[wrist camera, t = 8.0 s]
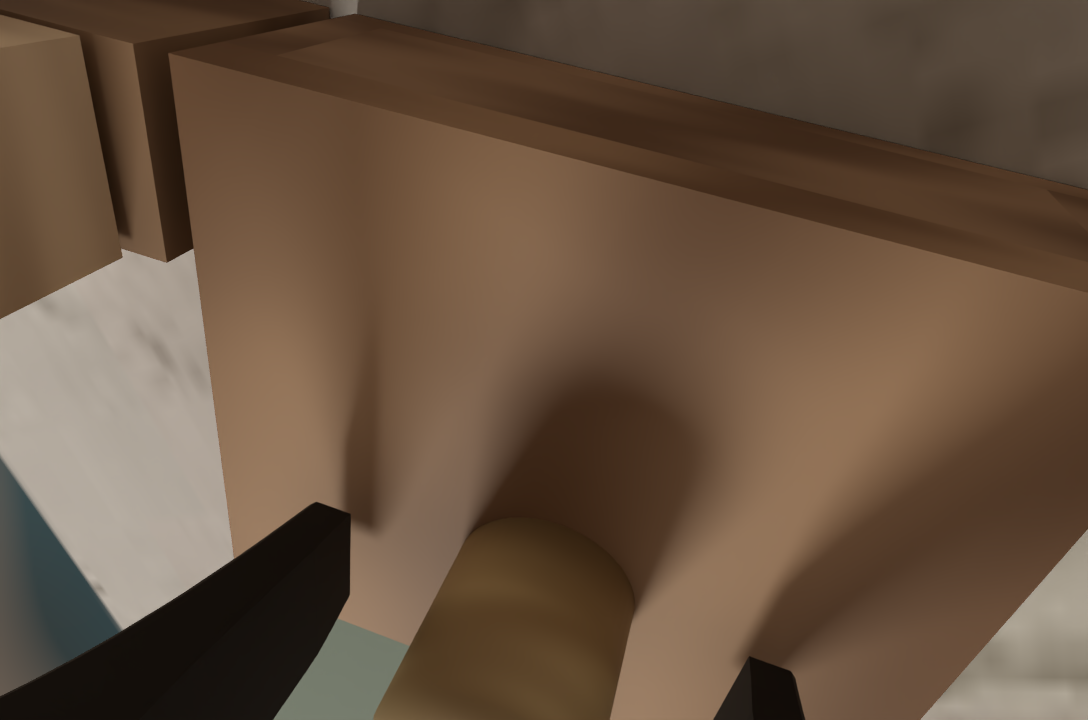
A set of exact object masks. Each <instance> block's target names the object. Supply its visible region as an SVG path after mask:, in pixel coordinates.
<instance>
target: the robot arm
mask: <svg viewBox="0 0 1088 720" xmlns="http://www.w3.org/2000/svg"><path fill="white" fill-rule="evenodd" d="M350 548H351V514H350V513H347V512H344V511H342V510H339V509H336V508H333V507H330V506H328V505H325V504H322V503H319V502H314V503H312V504H310V505H309V506H307V507H306V508H305V509H303V510H302V511H301V512H299V513H298V514H296V515H295V516H294V517H292V518H291V519H290V520H288V521H287V522H285V523H284V524H283V525H281V526H280V527H279V528H277V529H276V530H274V531H273V532H272V533H270V534H269V535H267V536H266V537H265V538H263V539H262V540H260V541H259V542H258V543H256V544H255V545H253V546H252V547H251V548H249V549H248V550H246V551H245V552H243V553H242V554H241V555H239V556H238V557H236V558H235V559H233V560H232V561H231V562H229V563H228V564H226V565H225V566H223V567H222V568H220V569H219V570H217V571H216V572H214V573H213V574H211V575H210V576H208V577H207V578H205V579H204V580H202V581H201V582H199V583H198V584H196V585H195V586H193V587H192V588H190V589H189V590H187V591H186V592H184V593H183V594H181V595H179V596H178V597H176V598H175V599H173V600H172V601H170V602H168V603H167V604H165V605H163V606H162V607H160V608H159V609H157V610H155V611H154V612H152V613H150V614H149V615H147V616H145V617H144V618H142V619H141V620H139V621H137V622H136V623H134V624H132V625H131V626H129V627H128V628H126V629H124V630H123V631H121V632H119V633H118V634H116V635H114V636H113V637H111V638H109V639H108V640H106V641H104V642H102V643H100V644H99V645H97V646H95V647H93V648H92V649H90V650H88V651H86V652H84V653H83V654H81V655H79V656H77V657H75V658H74V659H72V660H70V661H69V662H66V663H64V664H63V665H61V666H59V667H57V668H55V669H53V670H51V671H49V672H47V673H46V674H44V675H42V676H40V677H38V678H36V679H34V680H32V681H30V682H28V683H27V684H24V685H22V686H20V687H18V688H16V689H14V690H12V691H10V692H8V693H6V694H4V695H2V696H0V720H273V719H274V718H275V716H276V715H277V713H278V712H279V711H280V709H281V708H282V706H283V705H284V703H285V702H286V700H287V699H288V698H289V696H290V695H291V693H292V692H293V690H294V689H295V687H296V686H297V684H298V683H299V681H300V680H301V679H302V677H303V676H304V674H305V673H306V671H307V670H308V668H309V667H310V665H311V664H312V662H313V661H314V659H315V658H316V656H317V655H318V653H319V652H320V650H321V648H322V646H323V644H324V642H325V641H326V639H327V637H328V635H329V633H330V632H331V630H332V628H333V626H334V624H335V622H336V620H337V619H338V617H339V615H340V613H341V611H342V609H343V607H344V605H345V603H346V601H347V600H348V598H349V596H350ZM713 720H805V717H804V712H803V708H802V704H801V700H800V696H799V692H798V687H797V683H796V678H795V677H794V675H793V673H792V672H791V671H790V670H787V669H784V668H781V667H778V666H776V665H773V664H770V663H767V662H764V661H762V660H759V659H756V658H753V657H750V656H749V657H748V659H747V660H746V662H745V664H744V666H743V668H742V669H741V671H740V673H739V675H738V676H737V678H736V680H735V682H734V684H733V685H732V687H731V689H730V691H729V692H728V694H727V696H726V698H725V699H724V701H723V703H722V705H721V707H720V708H719V710H718V712H717V714H716V715H715V717H714V719H713Z"/></svg>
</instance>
